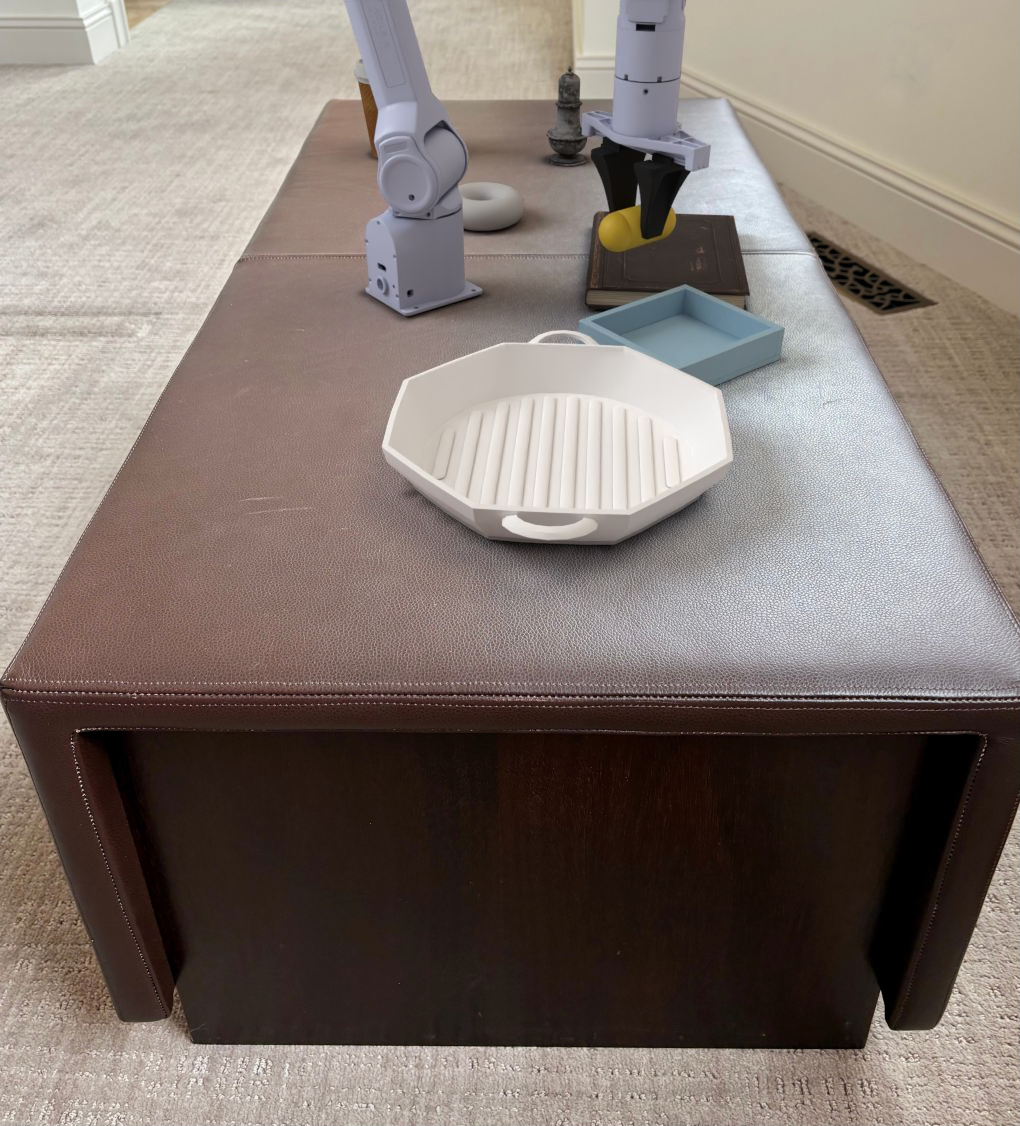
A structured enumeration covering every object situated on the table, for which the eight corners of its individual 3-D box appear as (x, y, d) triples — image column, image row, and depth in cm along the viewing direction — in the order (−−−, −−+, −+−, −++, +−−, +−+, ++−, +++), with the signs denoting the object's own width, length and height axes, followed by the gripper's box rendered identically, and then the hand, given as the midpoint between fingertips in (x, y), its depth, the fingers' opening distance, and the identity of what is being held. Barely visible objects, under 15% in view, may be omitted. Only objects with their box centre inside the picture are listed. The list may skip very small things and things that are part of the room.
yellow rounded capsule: (615, 261, 98) (617, 222, 96) (589, 249, 100) (591, 211, 98) (682, 239, 102) (685, 202, 100) (655, 229, 104) (658, 192, 102)
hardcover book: (731, 235, 123) (733, 215, 122) (746, 315, 105) (750, 292, 103) (592, 230, 124) (593, 210, 123) (583, 309, 106) (584, 286, 104)
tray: (672, 403, 91) (676, 370, 89) (577, 351, 99) (578, 320, 97) (780, 359, 97) (785, 327, 96) (682, 313, 105) (685, 284, 104)
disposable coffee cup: (350, 149, 150) (342, 57, 143) (412, 140, 153) (407, 49, 146) (376, 168, 143) (368, 72, 136) (440, 157, 147) (436, 63, 139)
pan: (422, 369, 96) (419, 323, 93) (707, 378, 95) (712, 332, 92) (357, 580, 71) (351, 527, 69) (741, 597, 70) (750, 543, 67)
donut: (521, 237, 123) (528, 206, 131) (521, 208, 121) (528, 178, 128) (435, 234, 124) (447, 204, 131) (433, 205, 121) (446, 176, 129)
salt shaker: (538, 157, 147) (539, 63, 140) (576, 151, 149) (579, 58, 142) (557, 169, 143) (560, 72, 135) (596, 163, 145) (600, 68, 137)
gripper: (742, 84, 89) (723, 242, 98) (624, 54, 99) (616, 201, 107) (682, 97, 86) (668, 260, 94) (566, 65, 95) (562, 216, 103)
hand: (637, 230), depth 100 cm, fingers closed on yellow rounded capsule, 3 cm apart
